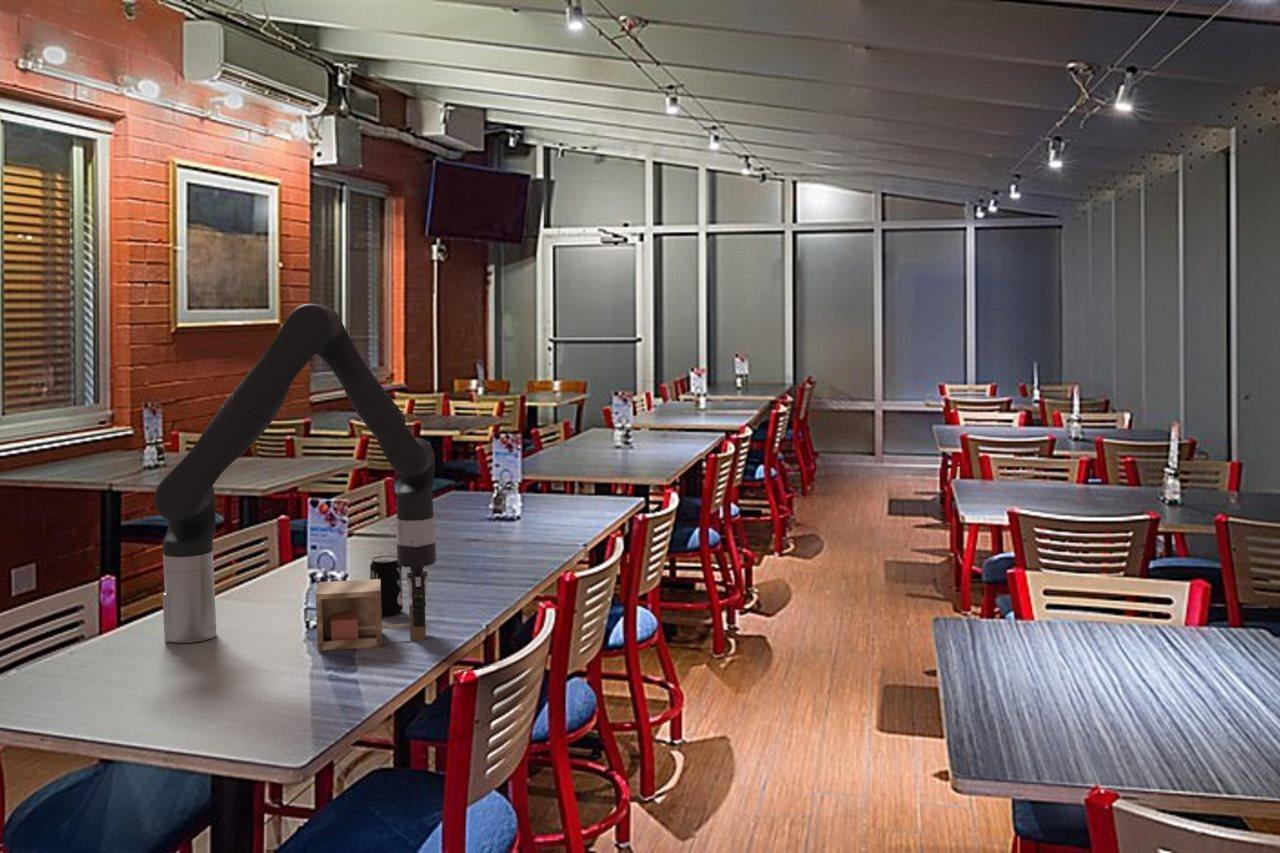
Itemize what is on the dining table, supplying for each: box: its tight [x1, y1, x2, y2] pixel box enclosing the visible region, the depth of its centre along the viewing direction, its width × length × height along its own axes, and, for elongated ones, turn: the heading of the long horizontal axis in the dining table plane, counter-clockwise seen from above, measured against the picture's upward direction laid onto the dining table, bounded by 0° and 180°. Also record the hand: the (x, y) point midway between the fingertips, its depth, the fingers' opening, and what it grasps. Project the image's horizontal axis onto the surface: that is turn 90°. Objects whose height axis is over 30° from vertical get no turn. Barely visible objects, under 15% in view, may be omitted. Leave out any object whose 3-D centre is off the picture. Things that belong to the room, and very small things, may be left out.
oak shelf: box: [315, 579, 383, 652], centre depth 228 cm, size 12×10×11 cm
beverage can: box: [369, 554, 404, 617], centre depth 249 cm, size 7×7×12 cm
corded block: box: [330, 600, 427, 641], centre depth 229 cm, size 18×5×7 cm, turn 102°
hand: (418, 620), depth 231 cm, fingers open, 8 cm apart
